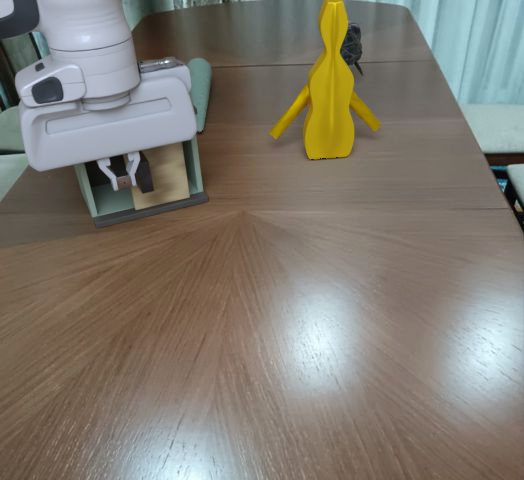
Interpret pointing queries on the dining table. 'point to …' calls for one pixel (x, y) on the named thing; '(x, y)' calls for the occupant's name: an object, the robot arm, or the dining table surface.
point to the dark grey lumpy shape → (352, 46)
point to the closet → (120, 202)
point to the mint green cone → (200, 88)
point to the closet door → (160, 176)
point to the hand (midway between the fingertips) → (124, 187)
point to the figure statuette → (328, 94)
